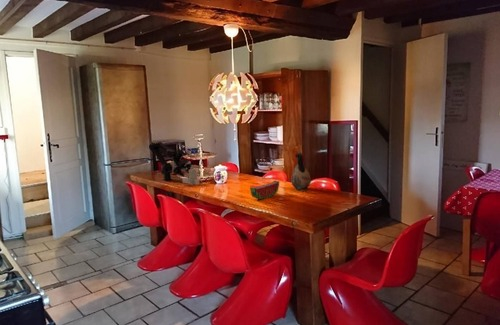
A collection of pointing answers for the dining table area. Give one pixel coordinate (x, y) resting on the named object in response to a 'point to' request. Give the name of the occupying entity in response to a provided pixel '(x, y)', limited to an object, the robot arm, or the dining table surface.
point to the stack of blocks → (174, 166)
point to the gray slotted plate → (192, 175)
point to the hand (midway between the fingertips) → (187, 175)
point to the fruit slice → (265, 190)
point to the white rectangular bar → (186, 180)
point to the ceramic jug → (300, 175)
